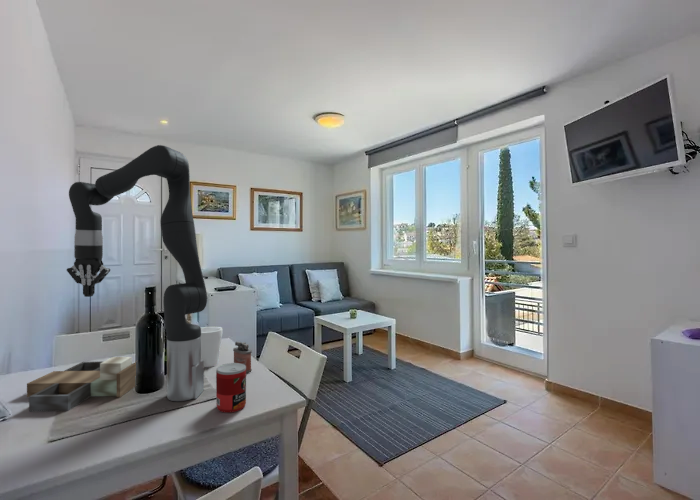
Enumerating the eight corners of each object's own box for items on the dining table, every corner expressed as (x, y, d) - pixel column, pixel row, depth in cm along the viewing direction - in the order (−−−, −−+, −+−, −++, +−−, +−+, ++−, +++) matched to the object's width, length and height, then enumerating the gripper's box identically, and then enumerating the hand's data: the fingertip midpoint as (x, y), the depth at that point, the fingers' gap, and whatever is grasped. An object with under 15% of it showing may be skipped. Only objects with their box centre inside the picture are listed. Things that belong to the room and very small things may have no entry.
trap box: (154, 372, 124) (154, 352, 124) (102, 410, 96) (102, 384, 96) (74, 373, 123) (73, 353, 123) (-2, 411, 95) (-3, 385, 95)
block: (132, 372, 113) (131, 356, 113) (120, 379, 107) (120, 363, 107) (112, 372, 113) (112, 357, 113) (100, 380, 107) (100, 363, 107)
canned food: (237, 414, 94) (237, 373, 94) (210, 411, 96) (210, 371, 96) (251, 402, 102) (251, 363, 102) (225, 399, 103) (225, 361, 103)
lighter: (253, 371, 126) (253, 343, 126) (246, 374, 123) (246, 345, 123) (238, 366, 130) (238, 339, 130) (230, 369, 127) (230, 341, 127)
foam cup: (216, 368, 128) (216, 332, 128) (190, 368, 128) (190, 332, 128) (226, 360, 138) (226, 326, 137) (202, 359, 138) (202, 326, 137)
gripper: (116, 244, 122) (116, 294, 122) (75, 243, 121) (75, 294, 121) (102, 244, 114) (102, 298, 115) (59, 243, 113) (59, 298, 114)
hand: (88, 296), depth 118 cm, fingers closed
